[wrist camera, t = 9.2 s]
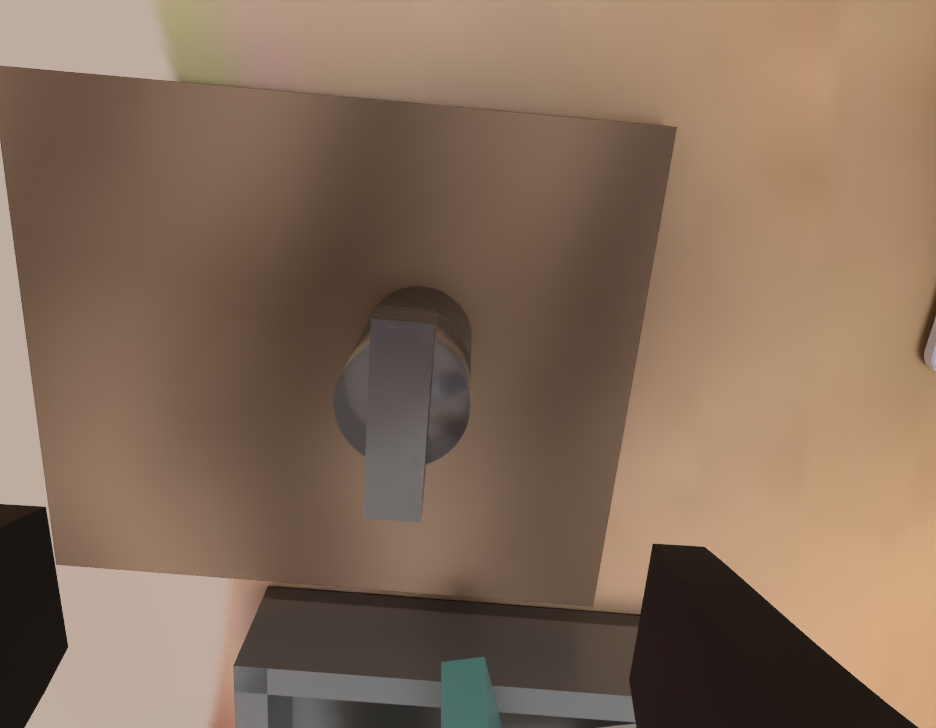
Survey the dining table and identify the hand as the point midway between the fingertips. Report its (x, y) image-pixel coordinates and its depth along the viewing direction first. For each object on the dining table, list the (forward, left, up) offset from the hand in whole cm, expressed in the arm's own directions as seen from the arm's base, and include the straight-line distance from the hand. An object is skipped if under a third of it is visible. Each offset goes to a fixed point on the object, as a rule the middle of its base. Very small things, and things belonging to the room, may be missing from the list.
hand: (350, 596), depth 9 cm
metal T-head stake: (0, -1, -8) cm, 8 cm away
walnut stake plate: (+2, 0, -9) cm, 10 cm away
